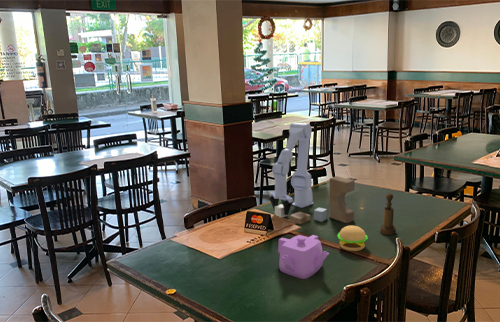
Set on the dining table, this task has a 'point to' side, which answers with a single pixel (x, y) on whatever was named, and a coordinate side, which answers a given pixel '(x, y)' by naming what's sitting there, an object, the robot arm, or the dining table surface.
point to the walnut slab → (300, 217)
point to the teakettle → (301, 256)
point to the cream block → (279, 211)
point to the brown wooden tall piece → (388, 218)
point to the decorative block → (340, 199)
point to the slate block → (320, 214)
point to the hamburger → (352, 238)
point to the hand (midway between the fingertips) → (281, 212)
